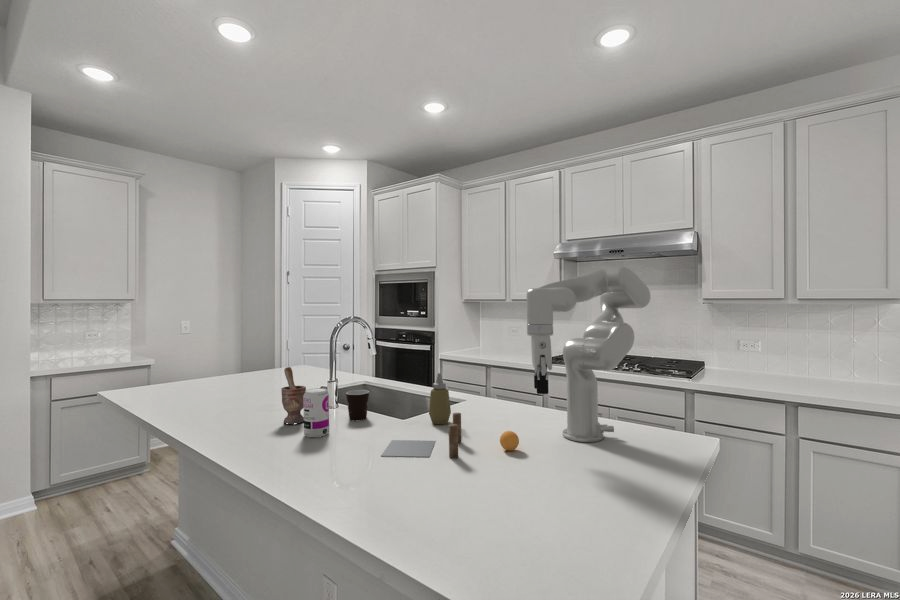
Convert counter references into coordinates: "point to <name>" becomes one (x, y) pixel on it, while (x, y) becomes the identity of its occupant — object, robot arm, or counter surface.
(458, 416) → the post
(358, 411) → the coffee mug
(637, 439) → the counter surface
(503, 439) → the ball
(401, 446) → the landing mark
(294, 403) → the mortar and pestle
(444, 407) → the squeeze bottle
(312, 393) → the supplement can
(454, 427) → the post
